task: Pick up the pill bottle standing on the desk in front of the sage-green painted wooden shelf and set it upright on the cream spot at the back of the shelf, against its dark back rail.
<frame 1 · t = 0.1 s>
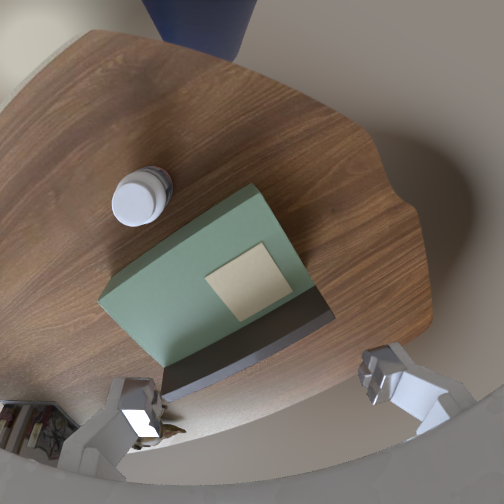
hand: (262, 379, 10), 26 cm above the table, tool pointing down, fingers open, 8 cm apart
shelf: (206, 275, 36), on the table
bookend: (42, 420, 46), on the table
pill bottle: (151, 187, 31), on the table
ceramic sculpture: (144, 413, 47), on the table
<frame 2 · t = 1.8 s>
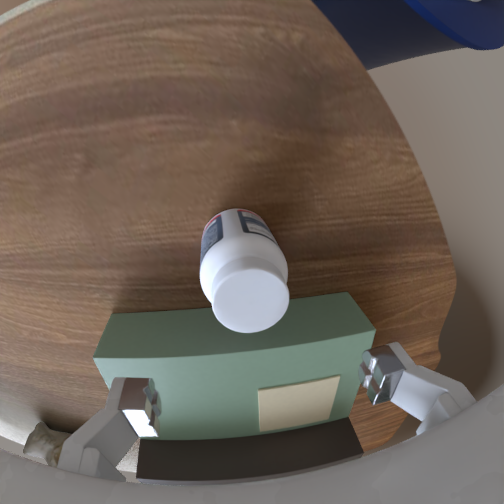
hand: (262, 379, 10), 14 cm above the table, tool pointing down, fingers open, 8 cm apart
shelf: (235, 361, 27), on the table
pill bottle: (236, 239, 22), on the table
ceramic sculpture: (71, 434, 32), on the table
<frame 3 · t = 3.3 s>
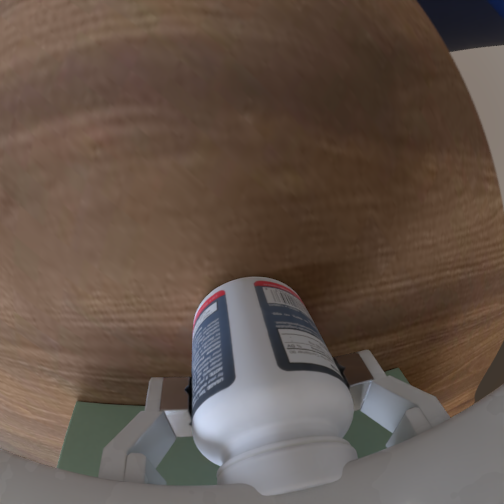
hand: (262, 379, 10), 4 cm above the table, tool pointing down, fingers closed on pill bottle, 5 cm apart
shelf: (245, 449, 18), on the table
pill bottle: (249, 320, 13), on the table, touching gripper
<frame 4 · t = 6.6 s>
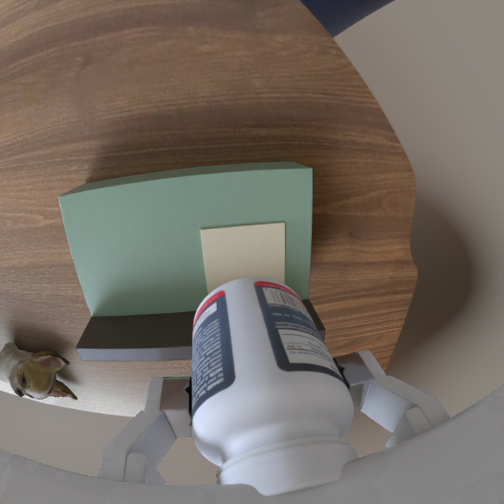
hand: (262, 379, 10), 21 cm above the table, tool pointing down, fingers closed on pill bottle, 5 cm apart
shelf: (190, 234, 30), on the table
pill bottle: (249, 320, 13), point 18 cm above the table, touching gripper
ceramic sculpture: (40, 358, 34), on the table
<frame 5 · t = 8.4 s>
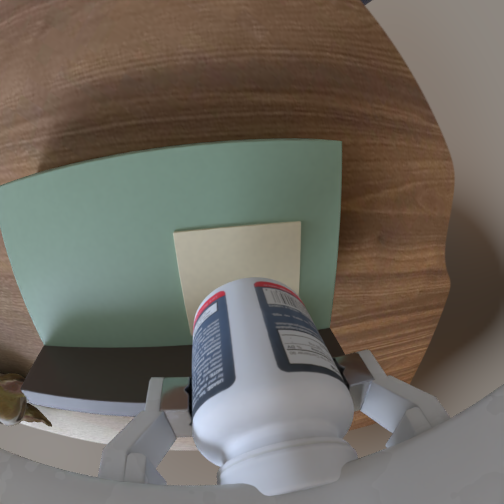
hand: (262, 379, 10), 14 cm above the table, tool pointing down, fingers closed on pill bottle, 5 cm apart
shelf: (168, 239, 21), on the table
pill bottle: (250, 320, 13), point 10 cm above the table, touching gripper
ceramic sculpture: (9, 379, 26), on the table
when the fingers open (10 cm above the table, at t = 9.9 s): pill bottle stays where it is, resting on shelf.
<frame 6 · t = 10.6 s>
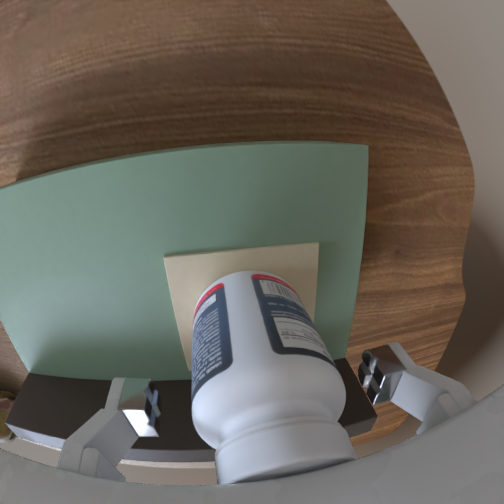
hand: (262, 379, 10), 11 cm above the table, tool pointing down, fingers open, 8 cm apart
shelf: (161, 256, 19), on the table
pill bottle: (247, 313, 14), point 6 cm above the table, touching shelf
ceramic sculpture: (1, 395, 23), on the table
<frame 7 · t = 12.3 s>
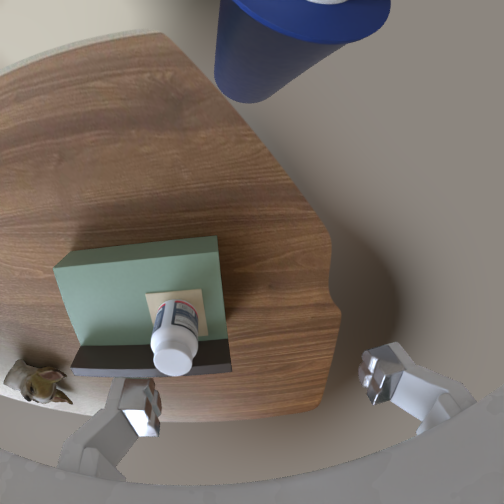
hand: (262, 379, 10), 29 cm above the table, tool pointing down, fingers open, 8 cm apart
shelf: (146, 289, 39), on the table
pill bottle: (178, 314, 35), point 6 cm above the table, touching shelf
ceramic sculpture: (43, 372, 43), on the table
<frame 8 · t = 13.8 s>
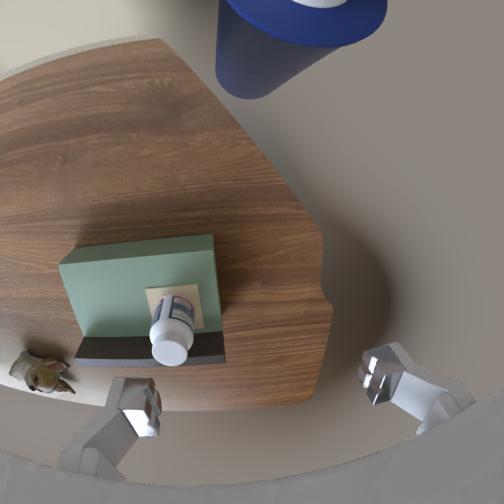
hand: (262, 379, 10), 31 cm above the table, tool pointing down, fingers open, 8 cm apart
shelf: (146, 283, 42), on the table
pill bottle: (175, 308, 37), point 6 cm above the table, touching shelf
ceramic sculpture: (47, 362, 46), on the table
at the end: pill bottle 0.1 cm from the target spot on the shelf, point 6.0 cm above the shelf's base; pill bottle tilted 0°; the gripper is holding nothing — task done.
